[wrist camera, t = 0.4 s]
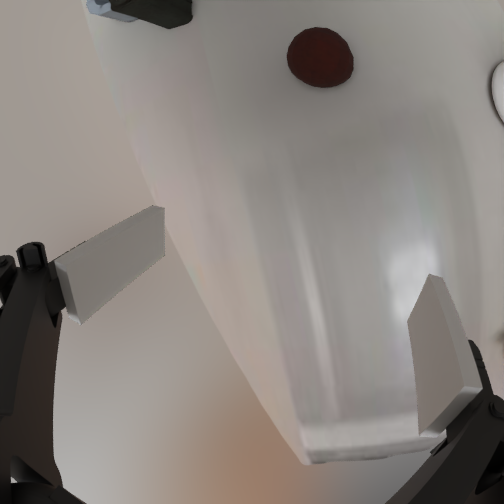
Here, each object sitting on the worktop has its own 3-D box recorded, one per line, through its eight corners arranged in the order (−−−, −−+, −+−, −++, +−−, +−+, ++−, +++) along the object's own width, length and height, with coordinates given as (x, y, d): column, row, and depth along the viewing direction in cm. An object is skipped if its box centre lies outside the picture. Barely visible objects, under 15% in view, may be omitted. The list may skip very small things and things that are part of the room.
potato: (287, 81, 34) (273, 72, 27) (303, 30, 30) (291, 11, 23) (345, 99, 33) (344, 92, 26) (360, 47, 29) (362, 29, 22)
